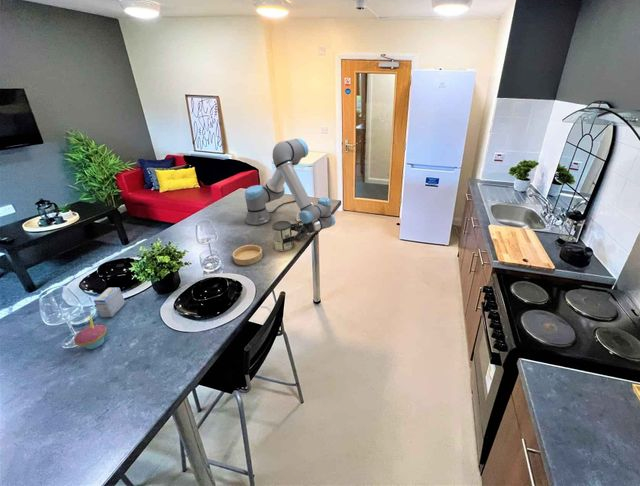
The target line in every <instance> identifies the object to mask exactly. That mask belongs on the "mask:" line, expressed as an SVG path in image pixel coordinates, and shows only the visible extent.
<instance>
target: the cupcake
mask: <svg viewBox="0 0 640 486" xmlns="http://www.w3.org/2000/svg"><path fill="white" fill-rule="evenodd" d="M88 319H89V323H90V324H89V325H88V326H86V327H84V328H83V329H81V330H79V332H77V333H76V335H75V336H74V338H73V343H74V345H76V346H79V347H84V348H86V349H87V350H94V349H97V348H99V347H101V346H102V345H103V344H104V342H105V336H106V335H107V332H108V329H107V326H106V325H105V324H102V323H97V324H96V323H95V324H94V321H93V316H92V315H91V314H90V315H89V318H88Z"/></svg>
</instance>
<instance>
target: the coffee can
mask: <svg viewBox="0 0 640 486" xmlns="http://www.w3.org/2000/svg"><path fill="white" fill-rule="evenodd" d="M291 224H292V223H291V222H290V221H288V220H279V221H276V222H273V223H272V224H271V228H272V236H273V242H274V249H275V250H276V251H279V252H285V251H289V250H291V249H292V248H293V247H294V243H293V242H294V241H292V242H288V243H285V244H283V240H282V239H285V238H288V237H291V236H293V234H292V233H293V232H292V230H291Z"/></svg>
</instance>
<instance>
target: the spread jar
mask: <svg viewBox="0 0 640 486" xmlns="http://www.w3.org/2000/svg"><path fill="white" fill-rule="evenodd" d="M311 203H312V205H313V206H314V203H313V202H311ZM300 212H301V210H299V211H297V212H296V217H295V219H296V221H297V222H302V221H301V220H300V216H299V214H300Z"/></svg>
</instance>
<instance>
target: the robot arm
mask: <svg viewBox="0 0 640 486" xmlns="http://www.w3.org/2000/svg"><path fill="white" fill-rule="evenodd" d="M308 155H309V147H308V144H307V143H306V142H305V140H303V139H302V138H293V139H289V140H283V141H282V140H281V141H280V142H278V143H276V144H275V145H274V147H273V149H272V161H273V165H274V167H275V168H276V169H275V171H274V173H273V174H272V177H271V178H269V179H268V180H267V181H266V183H265V185H260V184H255V185H251V186H249V187H247V188H246V189H245V191H244V198H245V204H246V209H247V212H246V217H245V222H246V224H247V225H250V226H260V225H261V226H262V225H265V224H267V223H269V222H270V221H271V216H270V214H273V213H275V212H276V211H277V210H278V209H279V208H281V206H283V205H286V204H290V203H296V205H297V207H298V209H299V211H300V214H299V216H300V220H301V221H300V222H302V224H300V222H295V223H291V232H292V231H293V232H296V234H295V235H292V236H291V237H288V238H285V239H282V240H283V244H285V243H288V242H297V243H300V242H301V241H303V240H304V239H305V238H307V237H308V236H310V234H313V233H315V232H318V231H322V230H324V229H325V230H326V229H329V228H332V227H333V226H335V225H336V218H335V216H334V214H332V203H331V199H330V198H329V197H319V198H318V200H317V204H315V205H314V204H313V205H312V203H313V202H312V201H311V199H310V197H309V195H308V193H307V192H306V190H305V187H304V186H303V184H302V182H301V180H300V178H299V176H298V174H297V172H296V170H295V168H294V167H295V166H297V165H299V163H300V162H301V160H302V159H303V158H306V157H307V156H308ZM285 184H286V186H287V188H288V189H289V191H290V194H291V195H292V197H293V199H294V200H292V201H287V202H284V203H281V204H279V205H278V206H277V207H275V209H274V210H273V211H269V212H268V210H267V205H266V204H269V203H270V202H273V201H276V200H280V199H281V198H282V197H284V196H285V193H286V191H285Z"/></svg>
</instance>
